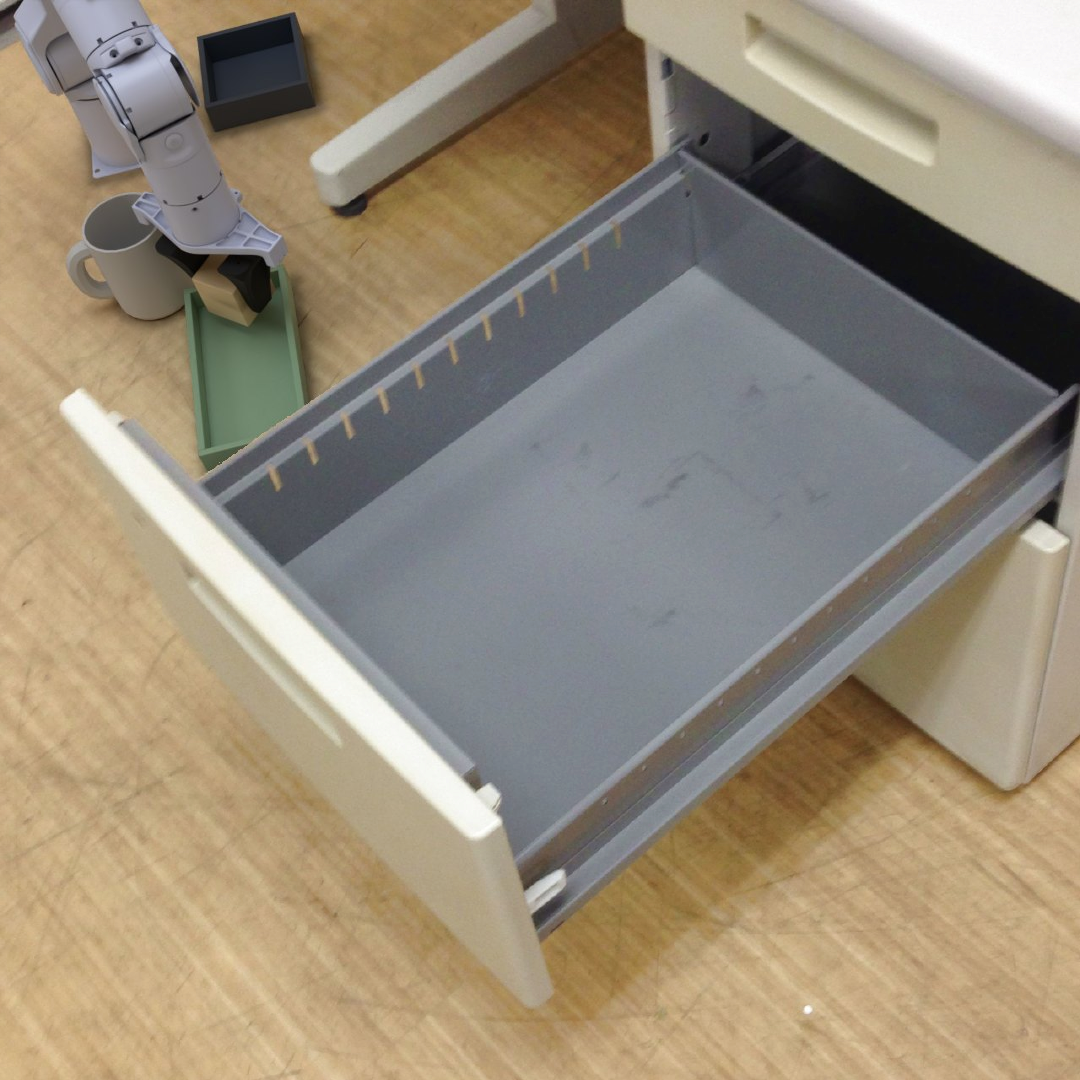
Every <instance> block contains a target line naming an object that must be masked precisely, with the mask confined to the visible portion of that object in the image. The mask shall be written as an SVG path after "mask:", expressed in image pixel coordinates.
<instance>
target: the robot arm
mask: <svg viewBox="0 0 1080 1080" xmlns="http://www.w3.org/2000/svg"><path fill="white" fill-rule="evenodd" d="M13 19H14V21H15V22H14V27H15V29H16V31H17V33H18V35H19V37H20V42H21V45H22V47H23V49H24V51H25V53H26V55H27V57H28V59H29V61H30V62H31V64H32V66H33V68H34V69H35V71H36V73H37V74H38V76H39V78H40V79H41V82H42V83H43V85H44V86H45V88H46V89H47V91H48V92H49V93H50V94H53V95H55V96H57V97H60V96H62V95H64V96H65V97H66V99H67V101H68V103H69V105H70V107H71V109H72V111H73V113H74V115H75V117H76V118H77V119H76V120H77V121H78V122H79V124H80V127H81V129H82V130H83V133H84V134H85V136H86V138H87V140H88V142H89V144H90V146H91V147H90V148H91V167H92V169H91V170H92V177H93V179H95V180H98V179H102V178H106V177H111V176H114V175H118V174H122V173H126V172H130V171H134V170H138V169H141V170H142V173H143V174H144V177H145V179H146V181H147V183H148V185H149V187H150V189H151V191H152V192H150V191H145V190H144V192H142V193H143V194H142V195H141V196H140V198H139V199H138V200H137V201H136V202H135V203H134V204H133V206H132V209H133V211H134V213H135V215H136V217H137V219H138V221H139V223H142V224H145V225H150V224H151V223H152V224H154V225H155V226H156V227H157V228H158V229H159V230H160V231H161V232H162V236H161V237H160V238H159V240H158V241H157V242H156V244H155V248H156V251H157V253H159V254H161V255H163V256H165V257H166V258H168V259H169V260H171V261H172V262H174V263H175V264H176V265H178V266H179V267H180V268H181V269H182V270H184V271H185V272H186V273H187V274H188V275H189V276H190V277H191V278H193V276H194V275H195V274H196V272H197V271H198V270H199V269H200V267H201V266H202V265H203V263H204V262H205V261H206V259H207V258H208V257H209V256H210V254H229V255H228V256H227V258H226V259H225V260H224V261H223V262H222V264H221V265H220V266H219V267H218V268H217V271H218V273H220V274H221V275H223V276H225V277H226V278H227V279H228V280H230V281H231V282H232V283H233V284H234V285H235V287H236V288H237V289H238V290H239V292H240V293H241V295H242V297H243V299H244V300H245V302H246V304H247V305H248V306H249V308H250V309H251V310H252V311H253V312H256V313H261V312H262V310H263V309H264V308H265V307H266V305H267V304H268V303H269V302H270V300H271V299H272V294H271V283H270V268H271V267H273V268H276V267H277V266H278V265H281V263H282V261H284V259H285V257H287V255H288V254H289V253H290V251H289V248H288V246H287V243H286V241H285V238H284V236H283V235H282V234H280V233H277V232H275V231H273V230H271V229H269V228H268V227H267V226H265V224H263V223H262V222H261V221H260V220H259V219H258V218H256V217H255V216H254V215H253V214H252V213H250V212H249V211H248V209H246V208H245V207H244V206H242V205H241V202H242V201H243V199H244V197H243V194H242V192H241V190H239V189H237V188H233V187H230V186H229V184H228V181H227V179H226V176H225V174H224V172H223V169H222V167H221V164H220V162H219V160H218V157H217V155H216V153H215V150H214V149H213V146H212V143H211V142H210V139H209V136H208V135H207V132H206V129H205V127H204V124H203V122H202V120H201V117H200V115H199V113H198V110H197V108H202V103H201V99H200V95H199V93H198V89H197V86H196V84H195V81H194V79H193V78H192V75H191V73H190V71H189V70H188V67H187V65H186V64H185V61H184V60H183V59H182V57H181V55H180V54H179V52H178V51H177V50H176V48H175V47H174V46H173V44H172V43H171V42H170V41H169V39H168V38H167V37H166V36H165V34H164V32H163V31H162V29H161V28H160V26H159V25H158V24H157V23H154V24H153V22H152V20H151V19H150V17H149V15H148V13H147V11H146V10H145V7H144V6H143V4H142V2H141V1H140V0H22V2H21V3H20V5H19V6H18V8H17V9H16V11H15V12H14V15H13ZM192 102H193V103H194V104H193V103H192ZM196 107H197V108H196Z"/></svg>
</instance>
